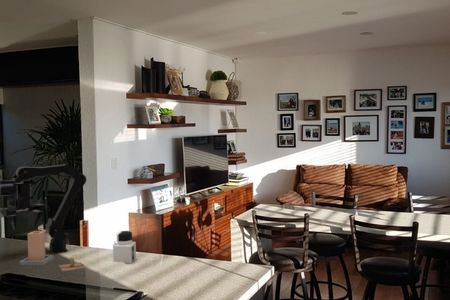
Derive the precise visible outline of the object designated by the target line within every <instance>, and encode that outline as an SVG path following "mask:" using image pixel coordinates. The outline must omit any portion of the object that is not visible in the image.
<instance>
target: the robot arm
mask: <svg viewBox="0 0 450 300" xmlns="http://www.w3.org/2000/svg"><path fill="white" fill-rule="evenodd" d="M62 173H63V174H64V175H65V176H67V178H69V184H68V189H67V192H66V193H65V195H64V197H63V199H62V202H61V204H60V205H59V208H58V209H57V210H56V211H57V212H56V213H55V216H54V217H53V218H50V217H49V218H48V220H47V223H46V224H45V225H44V226H45V230H44V231H45V233H46V234H47V235H48V236H49V237H50V240H49V241H50V242H49V250H48V252H49V253H51V254H52V253H53V254H59V253H65V252H68V251H69V250H68V249H67V241H66V240H67V236H68V235H67V234H66V233H65V232H64V231H63V228H64V222H65V219H66V216H67V214H68V212H69V210H70V208H71V206H72V204H73V202H74V200H75V198H76V196H77V193H78V192H79V191H81V189H83V187H84V186H85V184H86V183H87V177H86V175H85V174H83V173H80V172H78V171H77V170H76V169H74V168H72V167H71V166H70V165H69V164H67V163H66V164H65V163H63V164H58V165H49V166H38V167H33V166H32V167H31V166H19V167H18V168H17V169H16V171H15V174H14V176H13V177H12V179H11V180H0V197H2V196H3V197H6V196H14V195H15V194H16V195H17V196H15V200H14V199H11V198H10V199H8V200H6V201H7V202H6V203H7V204H6V205H7V207H2V209H1V210H0V215H2V216H4V217H5V218H6V217H7V219H8V220H9V222H10V225H11V226H12V229H13V231H16V230H17V217H18V216H17V213H22V212H23V213H24V212H31V213H32V226H33V227H36V226H37V224H38V223H39V219H40V218H41V216H42V215H43V213H45V211H47V205H46V204H44V203H36V204H35V203H34V204H32V199H33V196H32V190H31V189H32V185H34V184H36V182H35V181H34V180H33V178H36V177H39V176H47V175H55V174H62Z"/></svg>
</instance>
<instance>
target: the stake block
mask: <svg viewBox="0 0 450 300" xmlns="http://www.w3.org/2000/svg"><path fill="white" fill-rule="evenodd" d="M58 267H59V268H60V269H61V271H62V272H67V271H73V270H79V269H84V268H85V269H86V266H85V265H84V264H83V263H82V261H80V262H75V257H69V263H66V264H62V265H61V264H60V265H58Z"/></svg>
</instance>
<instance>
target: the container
mask: <svg viewBox="0 0 450 300" xmlns="http://www.w3.org/2000/svg"><path fill="white" fill-rule="evenodd" d="M112 251H113V253H112V254H113V262H114V263H115V262H116V263H117V262H118V263H119V262H120V263H121V262H122V263H124V264H125V265H129V264H130V265H131V264H132V263H133V262H134V261H135V260H137V242H136V241H133V232H132V231H130V230H121V231H118V232H117V233H116V244H114V245H113V248H112Z"/></svg>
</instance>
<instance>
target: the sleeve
mask: <svg viewBox="0 0 450 300" xmlns="http://www.w3.org/2000/svg"><path fill="white" fill-rule="evenodd" d="M45 233H46V232H45V230H44V231H43V230H42V231H37V230H36V231H31V232H29V233H27V254H28V255H27V257H28V261H42V260H44V259H45V255H46V241H45V240H46V239H45Z"/></svg>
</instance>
